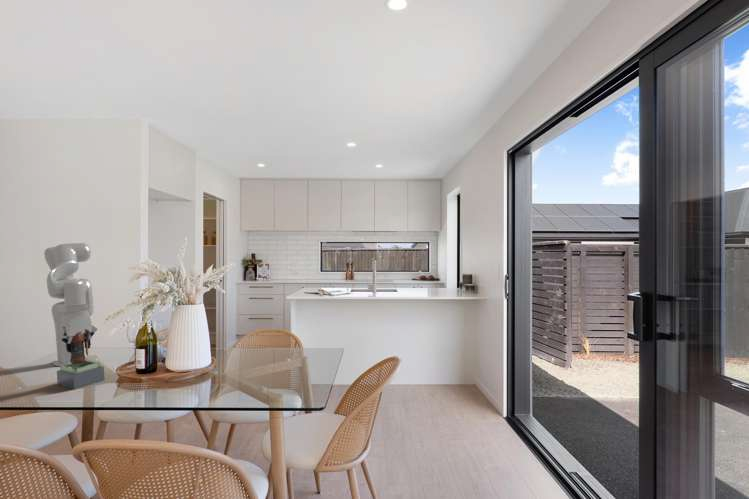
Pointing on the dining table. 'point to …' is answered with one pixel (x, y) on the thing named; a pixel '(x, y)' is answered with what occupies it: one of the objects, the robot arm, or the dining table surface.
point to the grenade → (79, 347)
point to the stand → (80, 374)
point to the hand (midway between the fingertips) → (79, 349)
